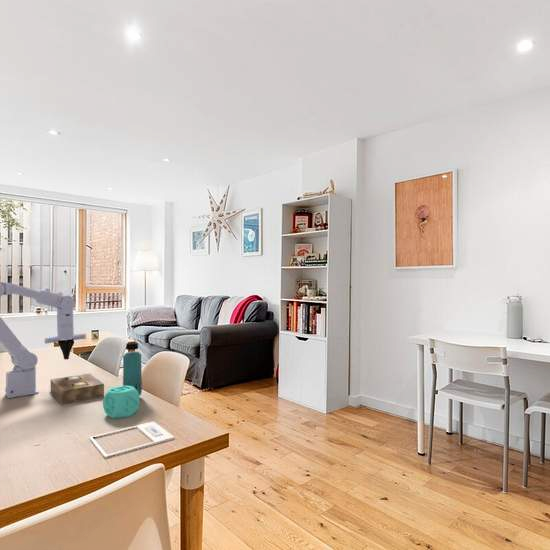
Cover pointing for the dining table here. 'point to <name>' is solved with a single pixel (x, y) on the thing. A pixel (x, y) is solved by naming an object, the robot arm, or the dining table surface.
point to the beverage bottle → (132, 368)
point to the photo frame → (148, 429)
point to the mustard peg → (79, 384)
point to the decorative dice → (121, 401)
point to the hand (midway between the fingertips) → (66, 359)
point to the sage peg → (73, 378)
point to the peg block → (76, 388)
